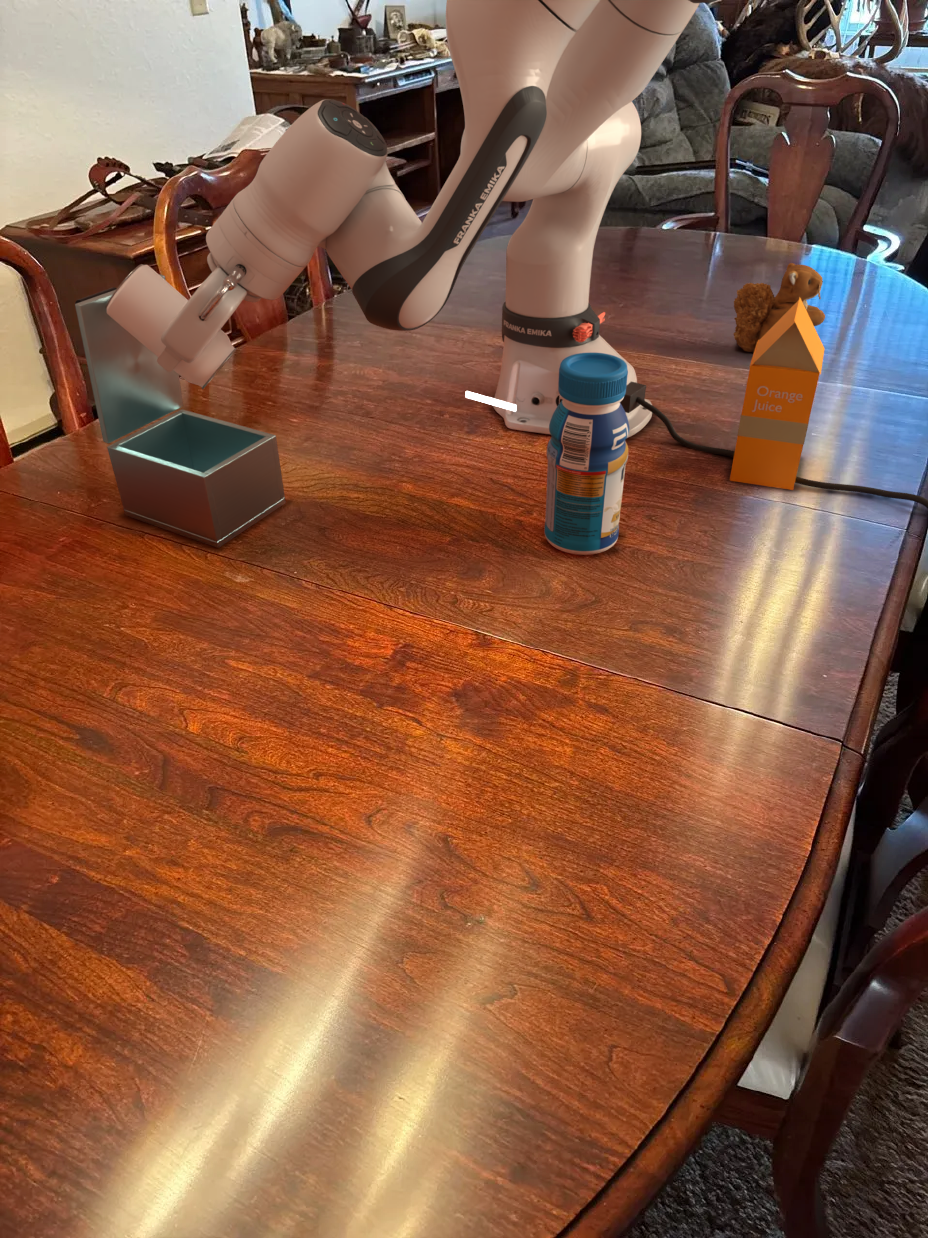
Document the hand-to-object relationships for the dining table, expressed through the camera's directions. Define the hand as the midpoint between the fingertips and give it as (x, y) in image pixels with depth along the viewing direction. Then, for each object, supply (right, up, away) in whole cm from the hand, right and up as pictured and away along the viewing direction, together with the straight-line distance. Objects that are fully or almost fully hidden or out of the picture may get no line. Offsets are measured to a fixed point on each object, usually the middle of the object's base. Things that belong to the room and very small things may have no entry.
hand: (175, 351), depth 96 cm
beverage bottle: (+43, -19, +6) cm, 48 cm away
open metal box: (0, -15, +12) cm, 19 cm away
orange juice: (+68, -10, +18) cm, 71 cm away
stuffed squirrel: (+79, +15, +51) cm, 95 cm away
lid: (-6, 0, +5) cm, 7 cm away
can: (-4, +6, -4) cm, 8 cm away
